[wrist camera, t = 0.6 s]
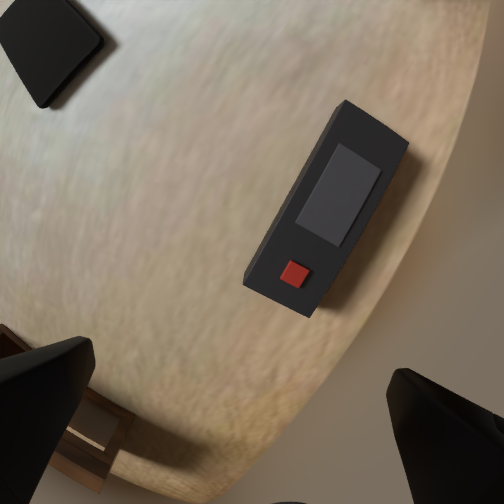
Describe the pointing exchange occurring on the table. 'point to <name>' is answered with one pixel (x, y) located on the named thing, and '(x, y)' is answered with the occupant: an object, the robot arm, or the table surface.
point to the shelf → (83, 430)
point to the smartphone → (47, 45)
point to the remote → (326, 210)
